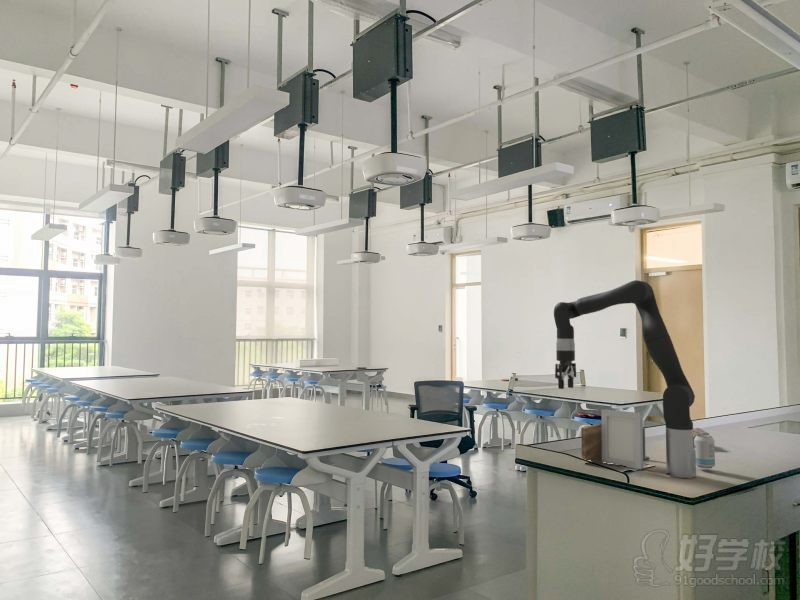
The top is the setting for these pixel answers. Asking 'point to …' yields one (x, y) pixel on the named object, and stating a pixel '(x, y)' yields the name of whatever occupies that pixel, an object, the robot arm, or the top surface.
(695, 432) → the pumice stone
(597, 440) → the shelf back
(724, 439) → the top surface
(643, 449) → the bookend
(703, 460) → the beverage can
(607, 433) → the picture frame
